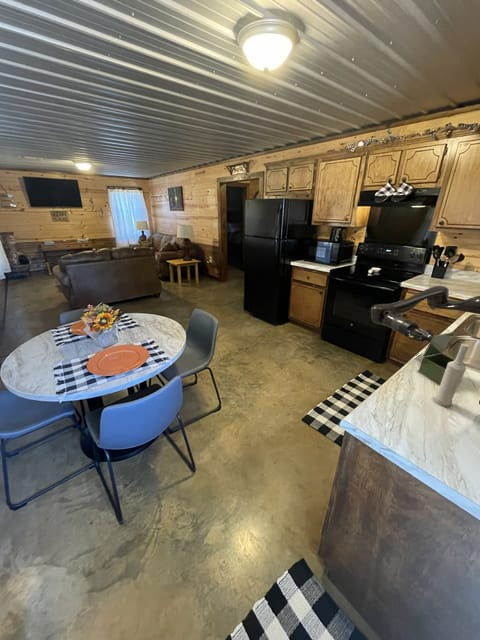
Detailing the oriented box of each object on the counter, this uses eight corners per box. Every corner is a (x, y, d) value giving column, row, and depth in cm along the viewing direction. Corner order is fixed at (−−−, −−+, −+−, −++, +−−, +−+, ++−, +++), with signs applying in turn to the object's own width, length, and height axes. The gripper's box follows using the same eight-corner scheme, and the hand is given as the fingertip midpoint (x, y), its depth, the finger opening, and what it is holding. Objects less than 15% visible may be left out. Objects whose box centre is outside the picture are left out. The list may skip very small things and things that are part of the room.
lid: (454, 332, 112) (452, 332, 112) (434, 336, 109) (433, 335, 109) (442, 352, 118) (441, 351, 118) (423, 357, 115) (422, 356, 115)
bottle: (432, 401, 100) (454, 344, 90) (436, 395, 103) (457, 340, 93) (448, 408, 97) (473, 350, 86) (452, 402, 100) (476, 345, 90)
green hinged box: (459, 380, 112) (465, 365, 109) (440, 385, 109) (445, 370, 106) (436, 367, 121) (441, 353, 118) (418, 371, 118) (423, 357, 115)
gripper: (412, 331, 132) (446, 348, 117) (391, 335, 128) (423, 352, 113) (416, 317, 129) (451, 333, 114) (395, 321, 125) (429, 337, 110)
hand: (437, 342), depth 114 cm, fingers closed
